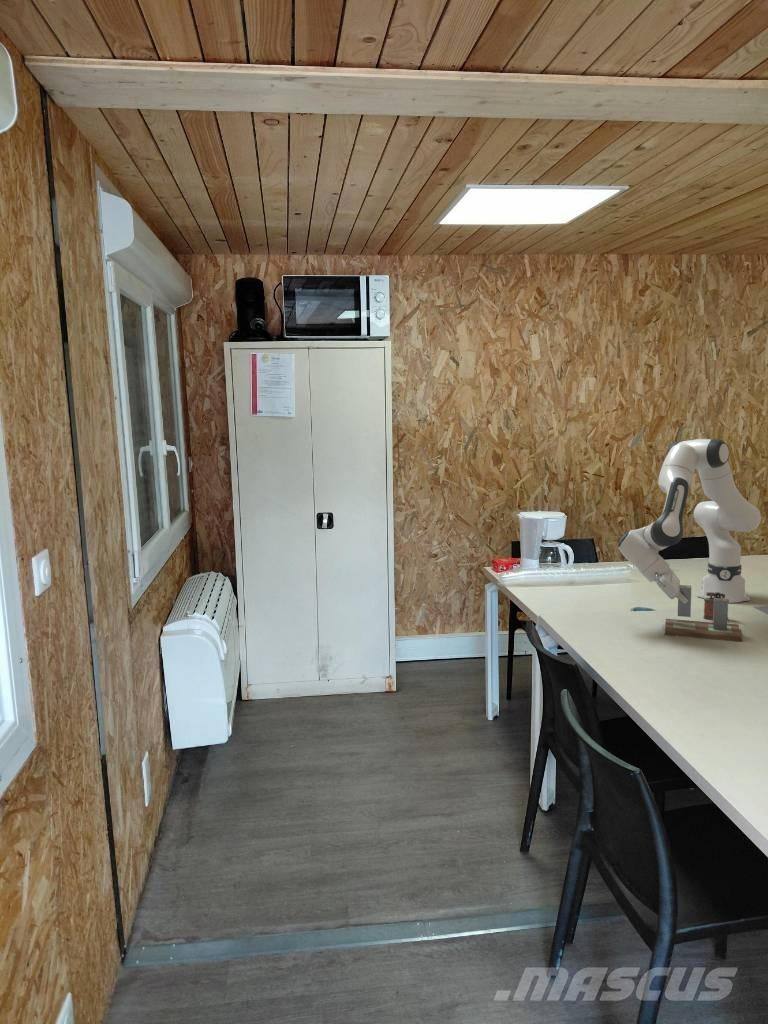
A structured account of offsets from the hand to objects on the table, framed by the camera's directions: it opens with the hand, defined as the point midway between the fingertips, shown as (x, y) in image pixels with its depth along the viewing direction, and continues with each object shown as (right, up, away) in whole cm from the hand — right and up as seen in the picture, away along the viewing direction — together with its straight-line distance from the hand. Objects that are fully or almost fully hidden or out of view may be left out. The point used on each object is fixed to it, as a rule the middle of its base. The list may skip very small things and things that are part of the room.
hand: (686, 600), depth 226 cm
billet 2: (+10, -9, -3) cm, 14 cm away
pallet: (+5, -11, -1) cm, 12 cm away
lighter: (+17, -9, +13) cm, 23 cm away
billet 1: (0, -5, +1) cm, 5 cm away
